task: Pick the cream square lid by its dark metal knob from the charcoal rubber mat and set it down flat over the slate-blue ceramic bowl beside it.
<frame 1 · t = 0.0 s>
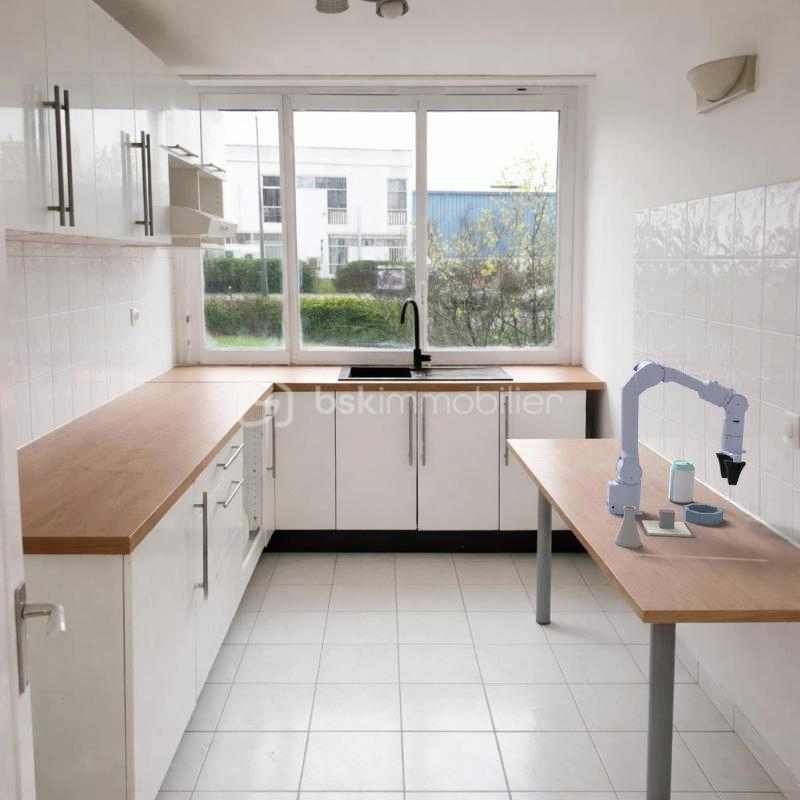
hand: (728, 481, 253), 10 cm above the table, fingers open, 7 cm apart
can: (680, 501, 270), on the table
bowl: (702, 520, 250), on the table
mat: (665, 531, 240), on the table
lid: (666, 529, 240), resting on mat
flask: (627, 545, 229), on the table
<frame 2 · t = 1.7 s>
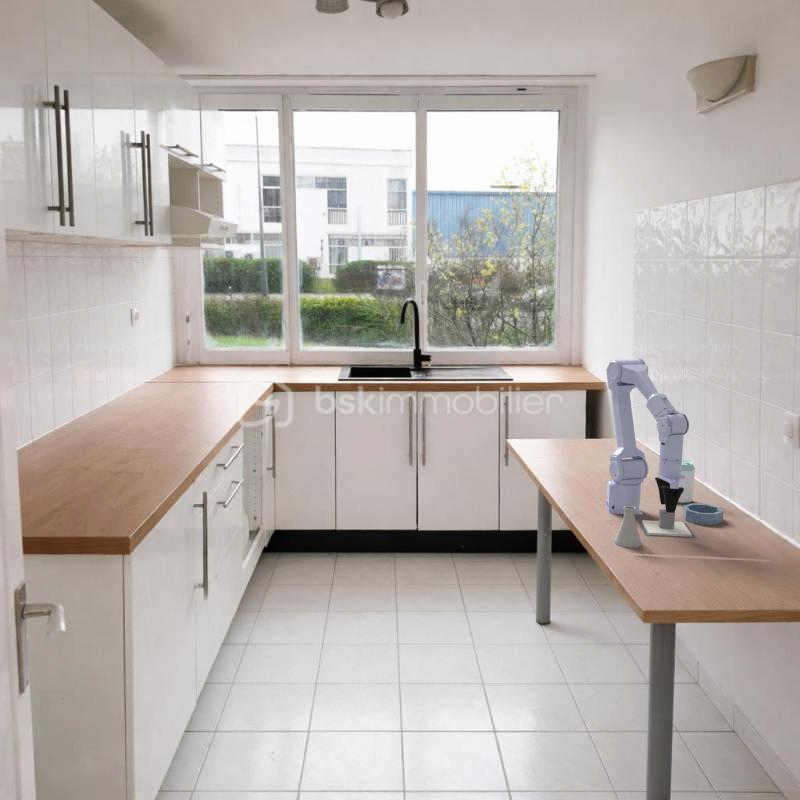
hand: (667, 508, 239), 6 cm above the table, fingers open, 7 cm apart
nothing on the table moved.
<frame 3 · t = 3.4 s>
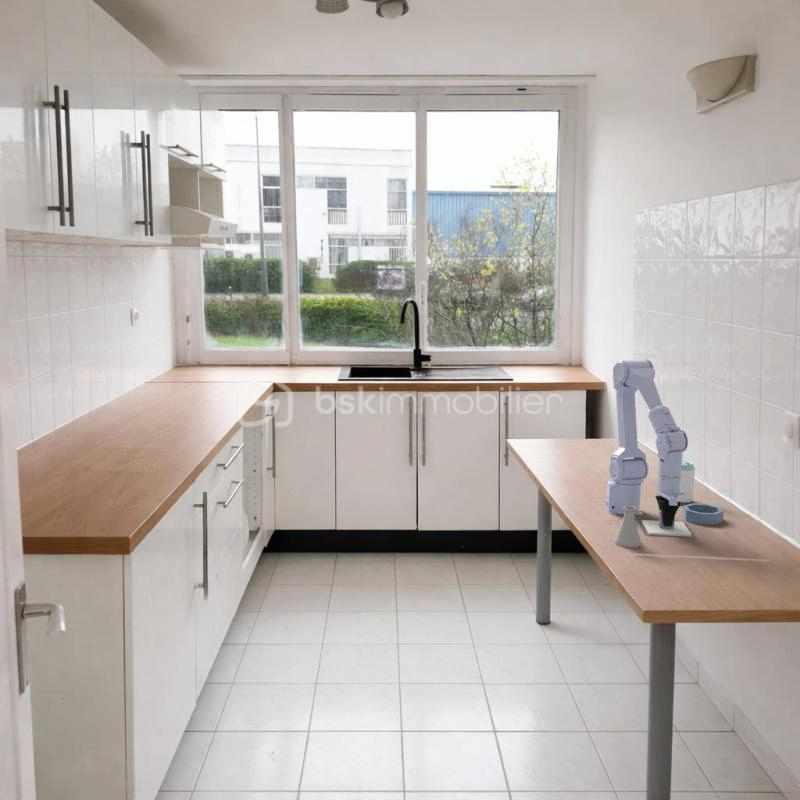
hand: (666, 524, 240), 2 cm above the table, fingers closed on lid, 2 cm apart
lid: (666, 529, 240), resting on mat, touching gripper
everything else where it was.
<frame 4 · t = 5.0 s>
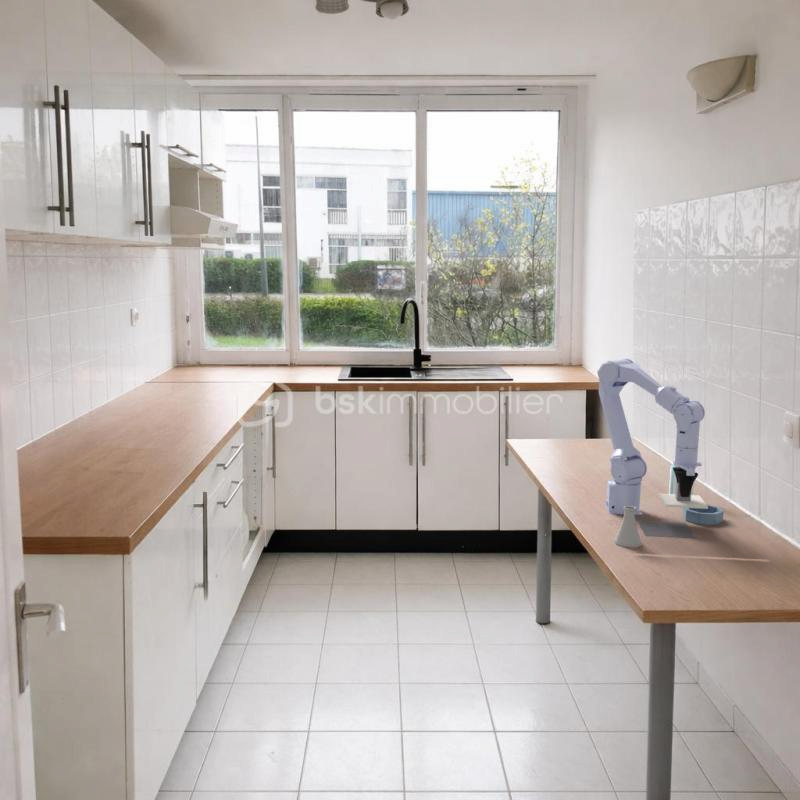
hand: (683, 495, 243), 9 cm above the table, fingers closed on lid, 2 cm apart
lid: (682, 501, 243), point 7 cm above the table, touching gripper
everything else where it was.
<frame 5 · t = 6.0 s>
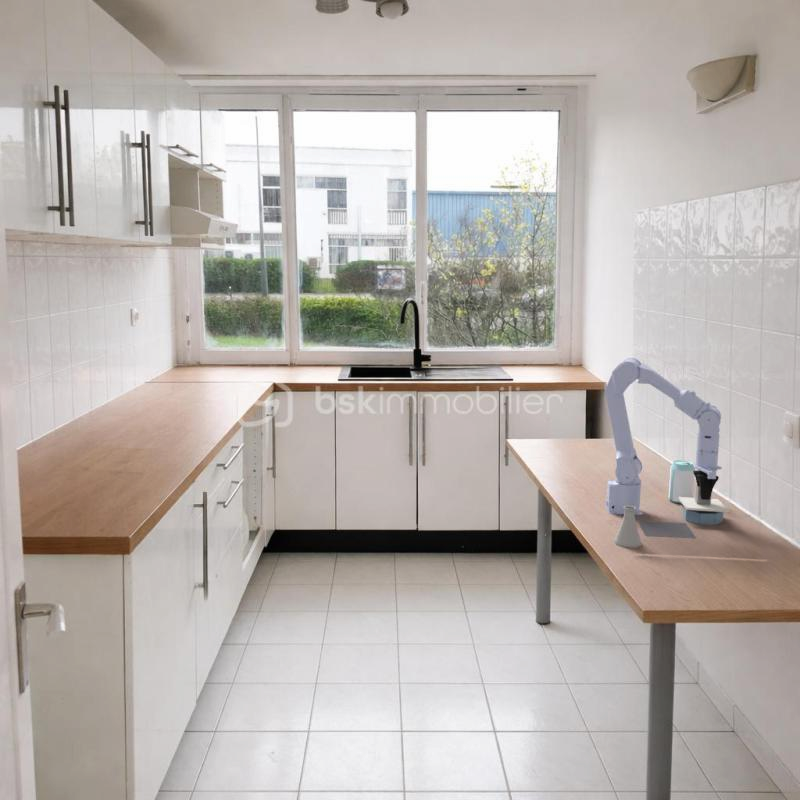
hand: (704, 497, 249), 7 cm above the table, fingers closed on lid, 2 cm apart
lid: (702, 505, 249), point 4 cm above the table, touching gripper
everything else where it was.
when the fingers open (6 cm above the table, at t = 6.7 s): lid stays where it is, resting on bowl.
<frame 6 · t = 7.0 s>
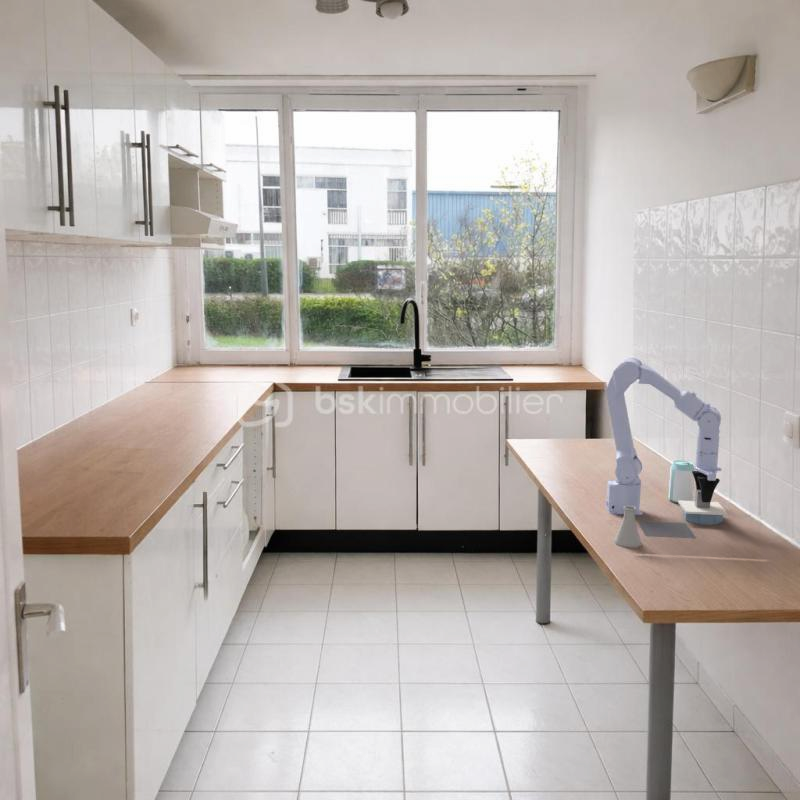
hand: (703, 499, 249), 6 cm above the table, fingers open, 5 cm apart
lid: (702, 508, 250), point 3 cm above the table, touching bowl
everything else where it was.
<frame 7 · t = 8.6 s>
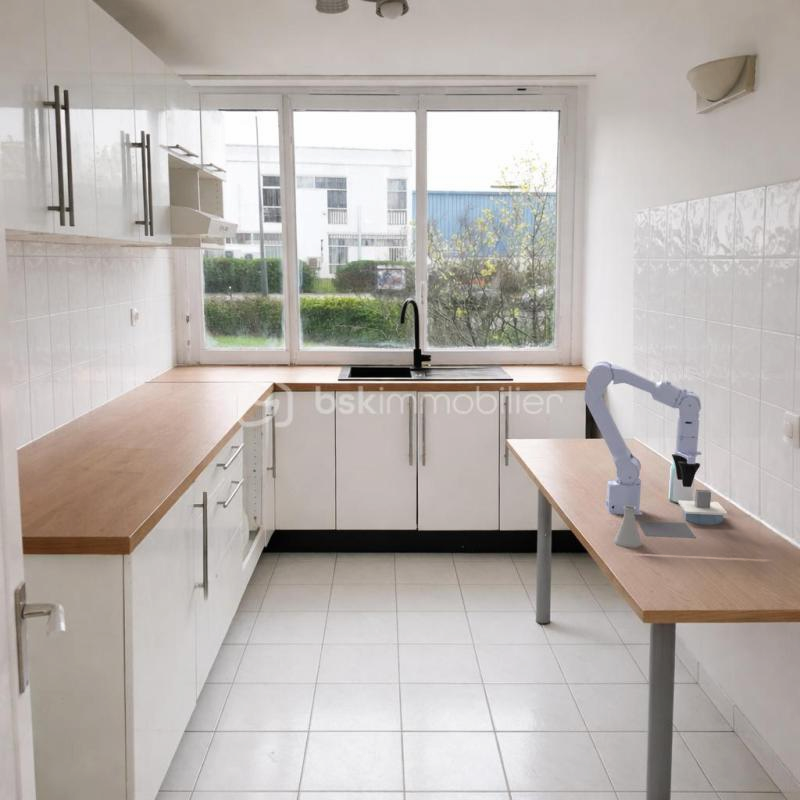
hand: (684, 483, 252), 10 cm above the table, fingers open, 7 cm apart
nothing on the table moved.
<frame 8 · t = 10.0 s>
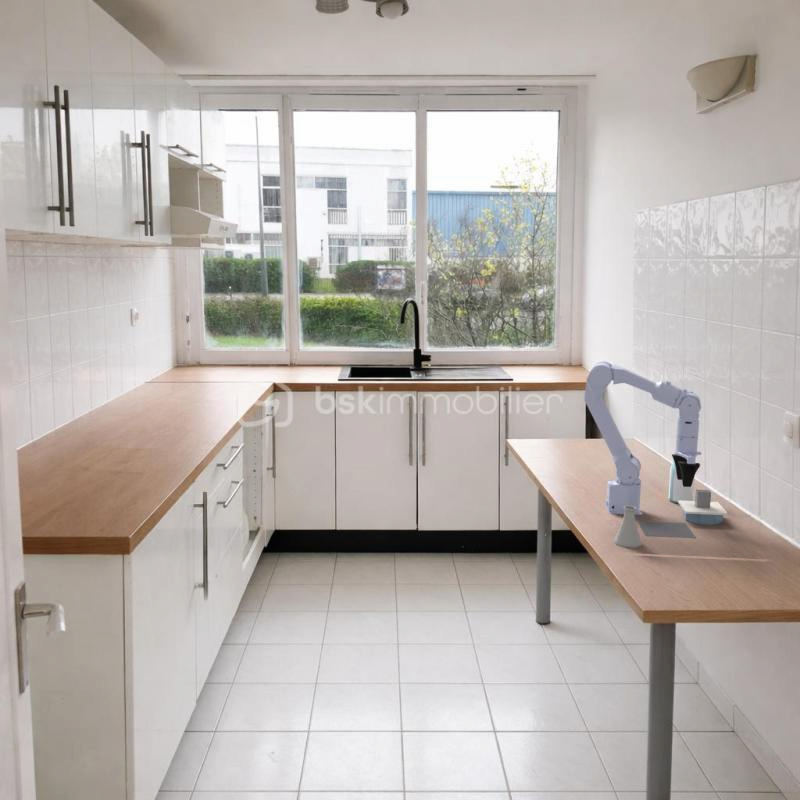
hand: (684, 483, 252), 10 cm above the table, fingers open, 7 cm apart
nothing on the table moved.
at the end: lid 0.3 cm off-centre on the bowl, point 3.5 cm above the bowl's base; lid tilted 0°; the gripper is holding nothing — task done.
